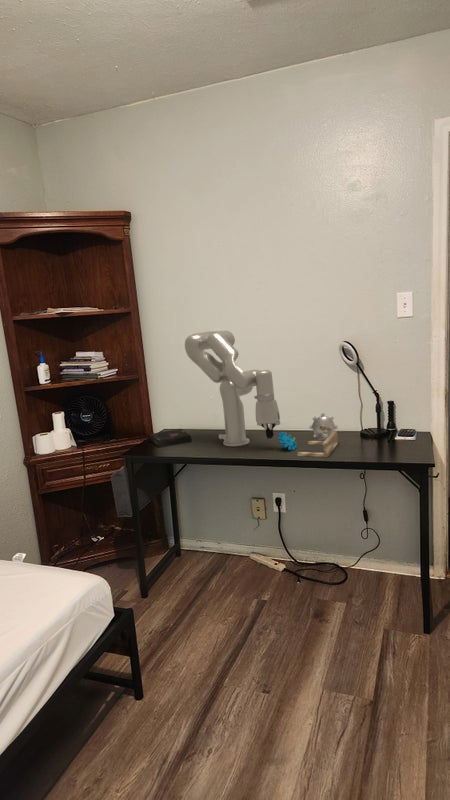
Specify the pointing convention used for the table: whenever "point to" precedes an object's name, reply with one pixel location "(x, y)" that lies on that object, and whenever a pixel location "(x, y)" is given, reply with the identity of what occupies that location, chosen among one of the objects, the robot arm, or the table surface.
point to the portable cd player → (170, 438)
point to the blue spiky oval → (287, 441)
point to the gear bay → (327, 446)
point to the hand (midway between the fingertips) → (270, 437)
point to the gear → (323, 427)
